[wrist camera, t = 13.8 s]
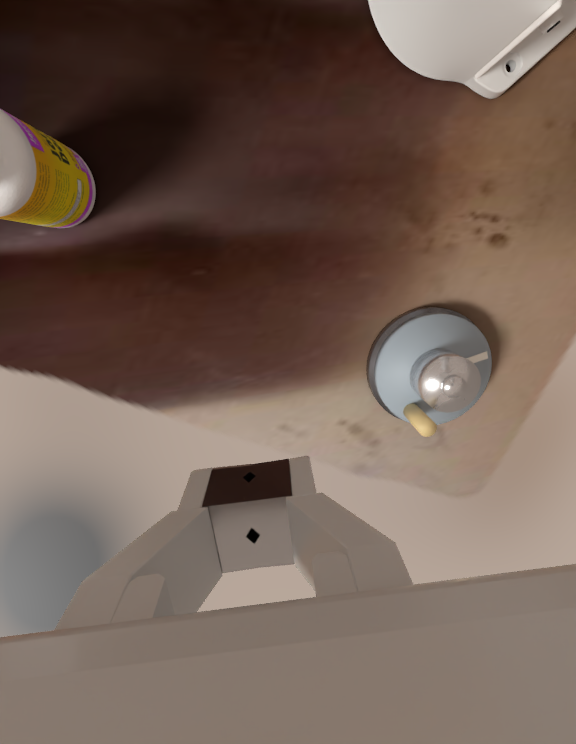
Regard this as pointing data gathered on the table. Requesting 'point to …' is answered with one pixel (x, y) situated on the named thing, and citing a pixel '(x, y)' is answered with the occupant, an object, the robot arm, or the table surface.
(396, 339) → the turntable
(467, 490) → the table surface
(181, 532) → the robot arm
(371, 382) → the turntable base
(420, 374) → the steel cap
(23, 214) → the supplement bottle
